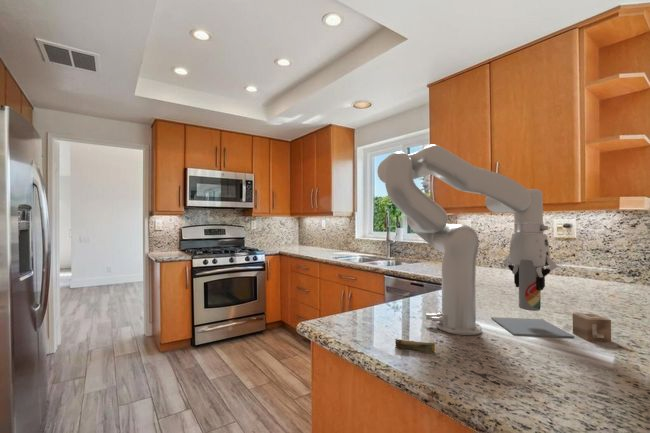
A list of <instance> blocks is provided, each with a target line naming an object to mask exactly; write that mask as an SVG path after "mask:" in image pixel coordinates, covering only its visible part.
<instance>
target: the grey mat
mask: <svg viewBox="0 0 650 433" xmlns="http://www.w3.org/2000/svg"><path fill="white" fill-rule="evenodd" d="M490 319H491V320H492V321H493V322H495V323H496V324H497V325H499V326H500V327H502V328H503V329H505V331H507V332H508V333H510V334H511V335H512V336H522V337H540V338H541V337H544V338H545V337H547V338H562V337H566V339H575V336H574V334H571V333H569V332H568V331H565V330H564V329H561V328H560V327H558V326H556V325H554V324H552V323H550V322H549V321H546V320H544V319H543V318H515V317H496V316H494V317H493V316H491V317H490Z"/></svg>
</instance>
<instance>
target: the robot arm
mask: <svg viewBox="0 0 650 433" xmlns="http://www.w3.org/2000/svg"><path fill="white" fill-rule="evenodd" d="M427 176H432V177H435V178H436V179H438V180H440V181H441V182H444V183H445V184H446V185H449V186H450V187H451V188H453V189H455V190H457V191H461V192H464V193H471V194H478V195H482V196H486V197H485V199H484V203H485V206H486V208H487V210H489V211H491V212H492V213H493V214H494V213H495V214H507V213H508V214H509V213H510V214H511V213H512V214H513V218H514V220H513V221H514V226H513V227H514V229H513V230H514V233H512V235H511V237H510V243H509V245H510V246H509V254H508V255H507V257H505V259H504V260H503V264H504V265H505V266H506V267H507V268H508V269H509V270H510V271H511V272H512V274H513V275H514V276H513V278H514V279H513V282H514V283H513V284H514V285H515V288H519V265H520V261H521V260H531V261H532V262H533V265H534V266H535V267H536V268H537V273H538V277H537V278H536V289H537V290H538V291H540V290H541V291H543V290H544V289H545V287H546V283H545V282H546V277H547V276H548V275H549V274H551V273H552V272H553V271H555V270H557V268H558V266H559V265H557V264H556V262H555V261H554V259H552V258H551V250H550V245H549V244H550V242H549V239H548V235H547V234H546V233H545V231H548V230H549V226H548V225H545V224H544V206H543V205H544V204H543V202H544V200H543V191H541V189H536V188H530V189H528V188H526V187H525V186H523V185H522V184H520V183H519V182H517V181H515V180H514V179H512V178H510V177H508V176H505V175H503V174H501V173H499V172H495V171H492V170H488V169H486V168H483V167H478V166H475V165H473V164H471V163H470V162H468V161H466V160H465V159H463V158H461V157H459V156H458V155H456V154H454V153H453V152H451V151H449V150H448V149H446V148H444V147H443V146H441V145H437V144H430V145H429V144H428V145H427V146H425V147H424V148H421V149H420V150H418V151H416V152H413V153H410V154H408V153H405V152H403V151H395V152H392V153H390V154H389V155H388V156H387V157H385V158H384V159H383V160H382V161H381V162H380V163H379V165H378V166H377V177H378V178H379V180H380V181H381V182H382V183H384V184H385V189H386V194H387V196H388V197H389V199H390V201H391V202H392V204H393V205H394V206H395V207H396V208H397V209H398V210H400V211H401V212H402V213H403V214H404V215H405V216H406V223H407V225H408V227H409V228H410V229H411V230H412V231H413V233H415V234H416V235H417V236H419V237H420V238H421V239H422V240H423V241H425V242H426V243H427V244H429V245H430V246H431V247H432V248H433V249H436V250H437V251H439V253H440V252H441V253H443V258H442V261H441V262H442V263H441V309H439V310H438V312H436V313H429V312H427V313H425V319H426V320H427V321H431V322H433V323H435V322H436V327H437V328H438V329H439V330H441V331H443V332H445V333H449V334H454V335H461V336H474V335H475V336H476V335H478V334H480V333H482V332H483V331H482V329H483V328H482V326H481V325H480V324H478V323H477V319H476V316H477V315H476V314H477V313H476V311H477V310H476V308H477V307H476V303H477V300H476V298H477V296H476V288H477V286H476V281H477V280H476V276H477V275H476V269H477V268H476V267H477V255H478V252H479V244H480V241H479V235H478V234H477V232H476V230H475V229H474V228H472V227H471V226H469V225H466V224H462V223H449V222H448V221H449V217H448V213H447V212H446V210H445V209H444V208H443V207H442V206H441V205H440V204H438V203H437V202H436V201H435V200H433V199H432V198H431V197H429V196H428V195H427V194H426V193H424V192H423V191H422V189H420V187H419V186H417V184H416V183H415V181H414V180H416V179H420V178H424V177H427ZM545 267H547V268H545Z"/></svg>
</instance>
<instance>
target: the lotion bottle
mask: <svg viewBox="0 0 650 433" xmlns="http://www.w3.org/2000/svg"><path fill="white" fill-rule="evenodd" d="M537 277H538V273H537V268H536V267H535V266H534V265H533V262H532V261H531V260H521V261H520V265H519V287H518V307H519V309H521V310H525V311H533V312H538V311H541V301H542V300H541V299H542V298H541V295H542V292H541V291H542V290H540V291H538V290H537V289H536V278H537Z"/></svg>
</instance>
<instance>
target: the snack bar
mask: <svg viewBox="0 0 650 433" xmlns="http://www.w3.org/2000/svg"><path fill="white" fill-rule="evenodd" d="M394 340H395V345H394V349H395V350H400V351H410V352H415V353H416V352H417V353H425V354H432V355H434V354H436V352H435V351H436V348H435V347H436V346H435V342H423V341H414V340H406V339H398V338H395V339H394Z"/></svg>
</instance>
